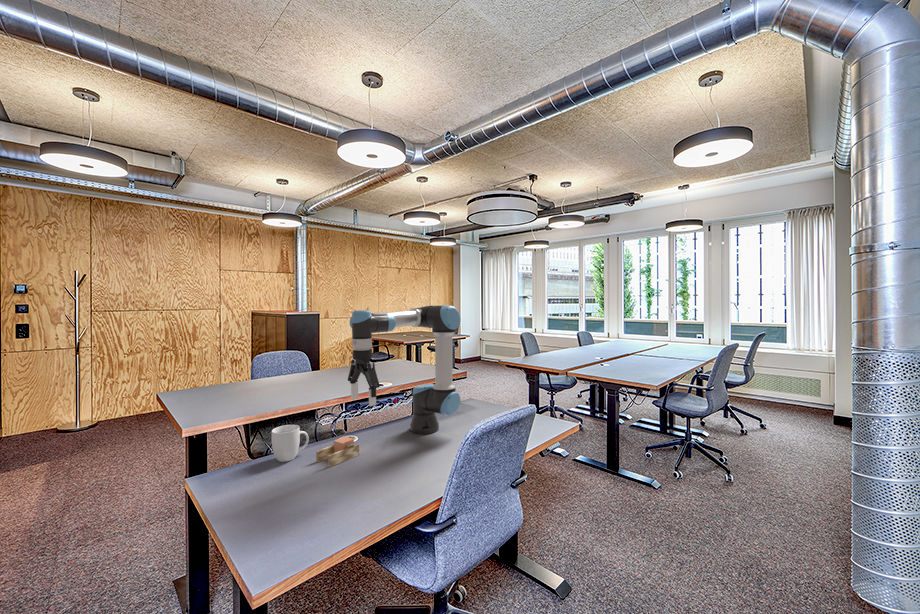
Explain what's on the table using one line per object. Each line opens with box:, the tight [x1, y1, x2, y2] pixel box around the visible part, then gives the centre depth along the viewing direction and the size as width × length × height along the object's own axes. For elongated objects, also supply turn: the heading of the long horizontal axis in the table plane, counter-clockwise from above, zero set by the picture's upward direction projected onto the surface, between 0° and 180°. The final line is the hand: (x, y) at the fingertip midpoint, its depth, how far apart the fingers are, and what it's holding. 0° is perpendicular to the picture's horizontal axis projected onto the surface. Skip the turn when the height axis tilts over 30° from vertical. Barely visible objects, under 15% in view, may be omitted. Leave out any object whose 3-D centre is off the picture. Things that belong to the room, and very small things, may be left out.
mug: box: [271, 424, 310, 463], centre depth 162 cm, size 15×11×13 cm
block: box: [333, 435, 355, 453], centre depth 163 cm, size 6×6×7 cm
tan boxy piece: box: [315, 443, 360, 468], centre depth 161 cm, size 15×10×6 cm
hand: (363, 402), depth 149 cm, fingers open, 13 cm apart
